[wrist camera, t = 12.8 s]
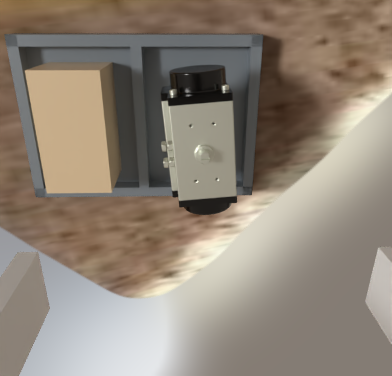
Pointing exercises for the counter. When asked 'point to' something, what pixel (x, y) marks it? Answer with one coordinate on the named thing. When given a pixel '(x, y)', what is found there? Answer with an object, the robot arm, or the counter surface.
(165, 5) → the counter surface
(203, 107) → the pneumatic valve
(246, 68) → the bay tray
